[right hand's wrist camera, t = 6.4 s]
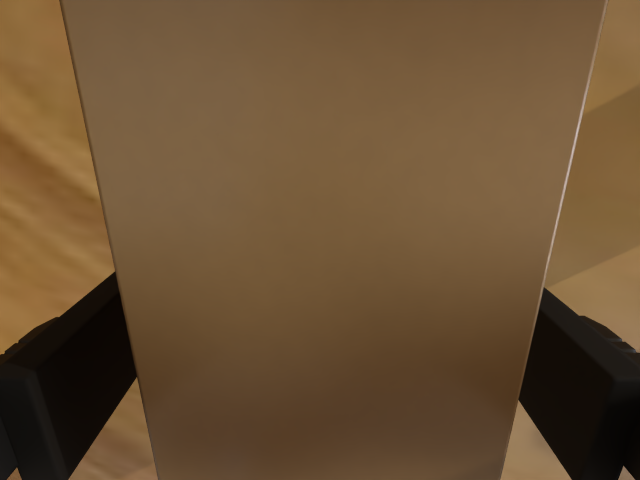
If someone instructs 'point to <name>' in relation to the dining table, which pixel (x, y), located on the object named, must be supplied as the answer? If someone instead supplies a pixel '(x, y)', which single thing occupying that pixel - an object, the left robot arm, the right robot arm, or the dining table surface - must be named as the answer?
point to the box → (331, 221)
